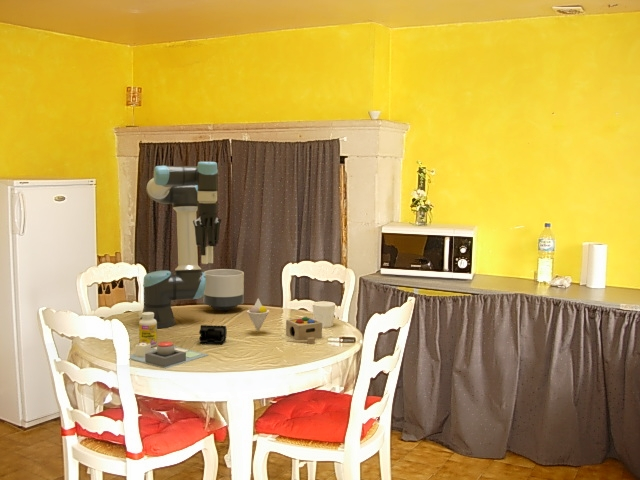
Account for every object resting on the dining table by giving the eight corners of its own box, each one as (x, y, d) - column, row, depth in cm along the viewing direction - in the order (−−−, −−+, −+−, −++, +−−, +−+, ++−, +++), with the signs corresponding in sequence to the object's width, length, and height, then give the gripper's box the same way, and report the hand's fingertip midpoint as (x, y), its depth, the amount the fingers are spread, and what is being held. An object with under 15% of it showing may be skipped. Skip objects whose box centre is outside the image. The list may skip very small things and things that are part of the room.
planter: (248, 305, 345) (249, 270, 343) (235, 314, 326) (235, 276, 324) (212, 303, 349) (212, 268, 347) (197, 311, 331) (197, 274, 329)
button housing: (145, 361, 248) (145, 353, 247) (166, 355, 256) (166, 347, 255) (164, 367, 242) (164, 358, 242) (185, 360, 250) (185, 352, 250)
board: (123, 358, 254) (123, 355, 253) (167, 345, 271) (167, 343, 271) (165, 369, 241) (165, 367, 241) (208, 356, 258) (208, 354, 258)
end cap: (226, 340, 280) (226, 324, 280) (223, 345, 273) (223, 328, 272) (202, 339, 281) (202, 323, 280) (198, 344, 274) (198, 327, 273)
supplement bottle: (138, 348, 266) (138, 315, 265) (139, 343, 273) (139, 311, 271) (156, 347, 268) (156, 314, 266) (157, 343, 274) (156, 311, 273)
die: (135, 355, 254) (135, 344, 254) (141, 353, 258) (141, 342, 258) (144, 357, 253) (144, 346, 253) (150, 354, 257) (150, 343, 256)
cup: (308, 327, 305) (308, 304, 304) (317, 322, 314) (317, 300, 313) (329, 329, 301) (330, 307, 300) (337, 324, 311) (338, 302, 309)
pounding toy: (273, 339, 285) (273, 319, 284) (304, 332, 297) (305, 313, 296) (303, 348, 272) (303, 328, 271) (334, 341, 284) (335, 321, 283)
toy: (265, 336, 288) (266, 300, 286) (243, 334, 289) (244, 299, 288) (271, 331, 297) (272, 296, 295) (250, 329, 299) (250, 295, 297)
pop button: (153, 354, 248) (153, 343, 247) (166, 351, 253) (166, 340, 252) (165, 358, 244) (165, 346, 244) (177, 354, 249) (177, 343, 249)
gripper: (200, 203, 258) (200, 266, 261) (228, 201, 270) (228, 262, 273) (185, 202, 262) (186, 264, 265) (214, 200, 274) (214, 260, 277)
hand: (207, 263), depth 269 cm, fingers open, 2 cm apart
